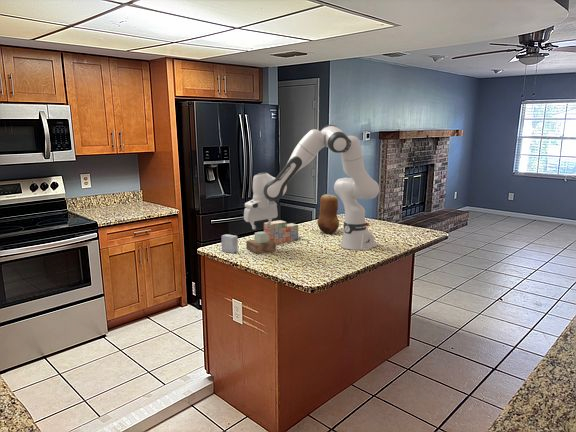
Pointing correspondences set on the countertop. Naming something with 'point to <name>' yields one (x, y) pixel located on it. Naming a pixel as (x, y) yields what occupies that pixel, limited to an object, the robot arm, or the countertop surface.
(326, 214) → the butternut squash
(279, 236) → the stack of blocks
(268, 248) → the walnut block
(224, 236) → the medicine box
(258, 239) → the sage cube
